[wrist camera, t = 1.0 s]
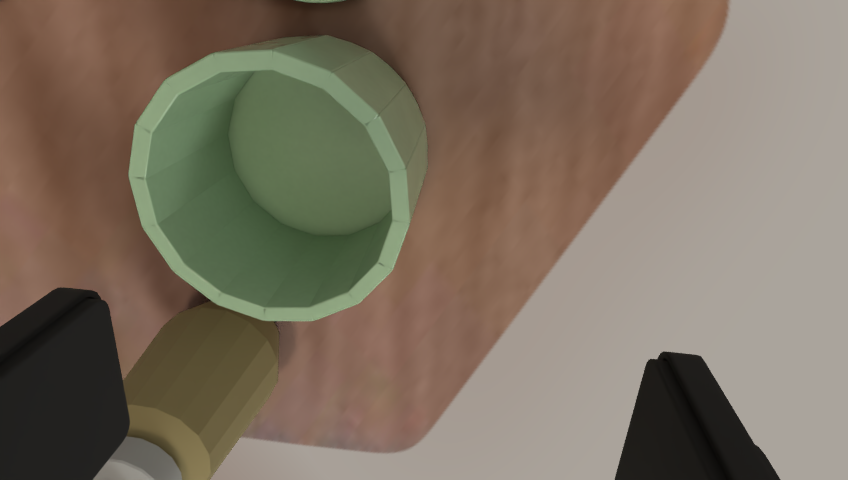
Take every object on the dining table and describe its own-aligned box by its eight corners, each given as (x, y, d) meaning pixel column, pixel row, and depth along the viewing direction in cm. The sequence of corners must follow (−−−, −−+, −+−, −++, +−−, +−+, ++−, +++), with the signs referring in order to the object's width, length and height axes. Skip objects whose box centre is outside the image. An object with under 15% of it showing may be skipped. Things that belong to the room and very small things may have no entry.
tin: (179, 94, 33) (73, 129, 25) (365, -7, 30) (318, -7, 21) (288, 271, 37) (229, 354, 29) (462, 198, 34) (455, 267, 26)
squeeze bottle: (252, 261, 37) (71, 472, 21) (317, 355, 40) (201, 608, 23) (160, 307, 39) (-70, 530, 23) (228, 393, 42) (63, 649, 25)
